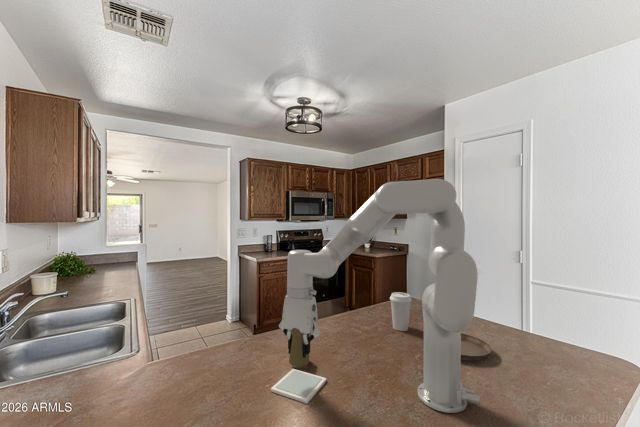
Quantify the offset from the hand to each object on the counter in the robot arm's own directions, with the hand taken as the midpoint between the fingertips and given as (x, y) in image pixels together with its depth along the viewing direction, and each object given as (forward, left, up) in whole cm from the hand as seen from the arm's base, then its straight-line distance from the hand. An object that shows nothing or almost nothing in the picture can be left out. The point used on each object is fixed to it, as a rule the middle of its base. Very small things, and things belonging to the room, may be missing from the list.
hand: (298, 353), depth 86 cm
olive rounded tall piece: (0, 0, -2) cm, 2 cm away
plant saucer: (-42, -47, -10) cm, 64 cm away
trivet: (0, 0, -10) cm, 10 cm away
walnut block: (+6, -11, -10) cm, 16 cm away
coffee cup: (-18, -58, -10) cm, 62 cm away
